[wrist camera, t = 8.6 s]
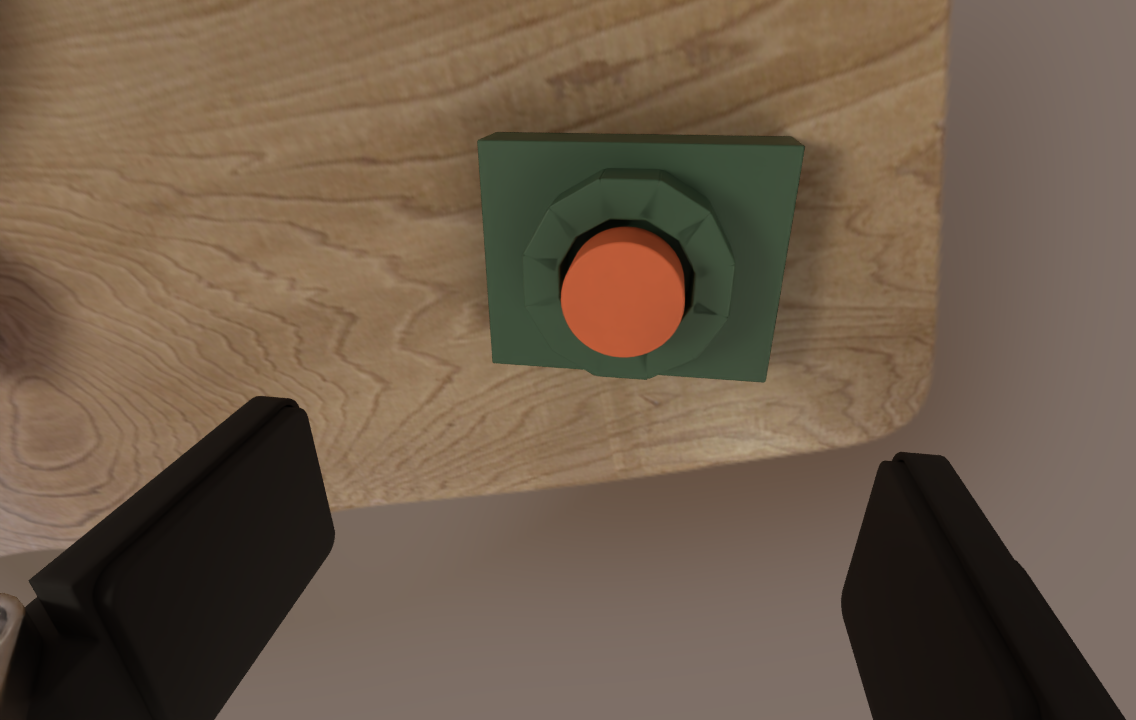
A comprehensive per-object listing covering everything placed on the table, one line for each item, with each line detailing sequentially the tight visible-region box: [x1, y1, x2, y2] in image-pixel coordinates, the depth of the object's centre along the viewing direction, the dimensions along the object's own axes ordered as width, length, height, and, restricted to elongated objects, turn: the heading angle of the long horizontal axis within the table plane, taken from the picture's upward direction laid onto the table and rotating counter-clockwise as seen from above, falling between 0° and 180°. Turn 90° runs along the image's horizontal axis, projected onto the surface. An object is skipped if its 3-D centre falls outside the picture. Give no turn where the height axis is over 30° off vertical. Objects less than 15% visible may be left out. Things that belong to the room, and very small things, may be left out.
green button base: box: [477, 132, 805, 382], centre depth 20 cm, size 10×8×4 cm
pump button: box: [561, 227, 685, 357], centre depth 18 cm, size 4×4×2 cm
